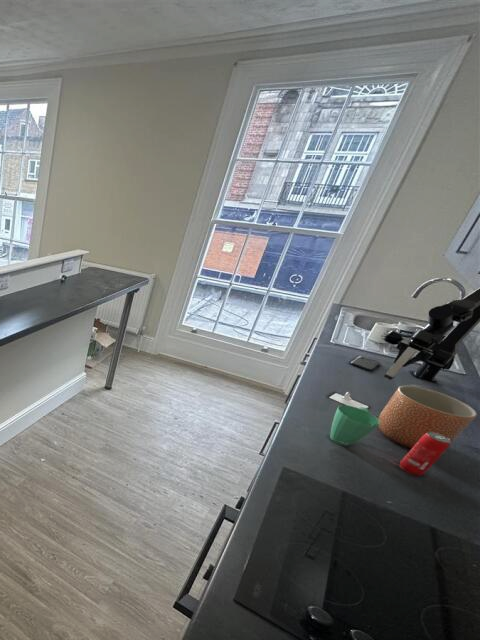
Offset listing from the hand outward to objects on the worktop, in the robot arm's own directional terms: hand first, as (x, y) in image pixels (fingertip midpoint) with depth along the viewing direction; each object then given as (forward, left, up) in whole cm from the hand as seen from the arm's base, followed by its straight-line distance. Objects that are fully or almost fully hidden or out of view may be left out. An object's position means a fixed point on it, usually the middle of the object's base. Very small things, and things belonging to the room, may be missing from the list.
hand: (398, 364), depth 152 cm
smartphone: (-25, -2, -11) cm, 27 cm away
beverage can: (+61, -3, -11) cm, 62 cm away
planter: (+42, -1, -11) cm, 44 cm away
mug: (+55, -18, -11) cm, 59 cm away
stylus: (-2, 0, -6) cm, 7 cm away
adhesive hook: (+24, -13, -11) cm, 29 cm away
